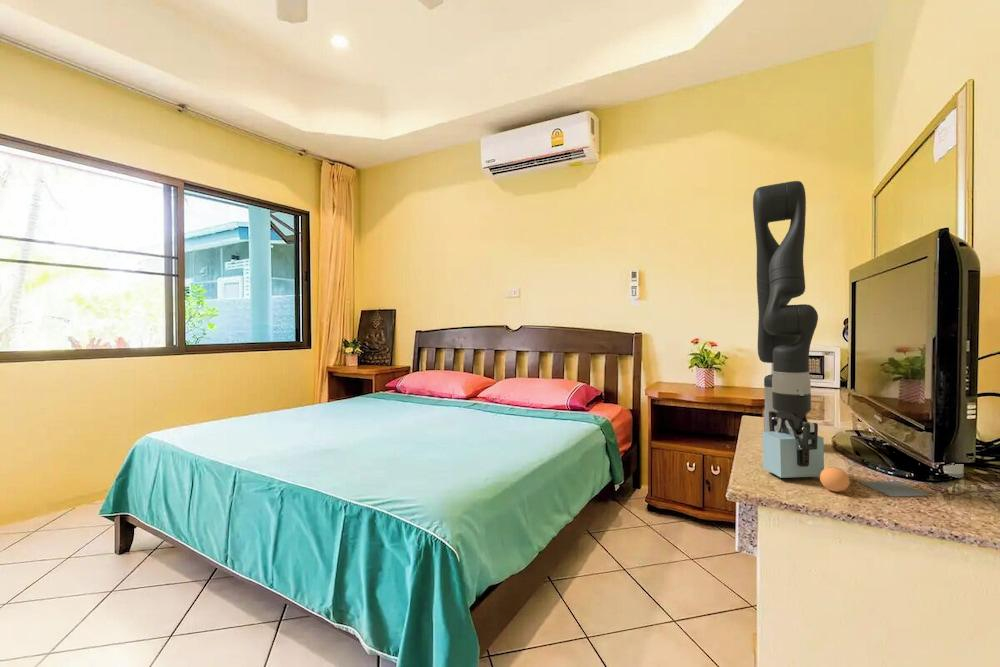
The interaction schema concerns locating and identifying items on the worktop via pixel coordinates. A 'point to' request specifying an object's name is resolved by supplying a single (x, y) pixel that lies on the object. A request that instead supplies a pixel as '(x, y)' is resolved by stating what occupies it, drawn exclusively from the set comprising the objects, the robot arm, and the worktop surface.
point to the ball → (834, 479)
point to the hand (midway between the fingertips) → (792, 460)
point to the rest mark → (894, 489)
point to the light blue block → (790, 456)
